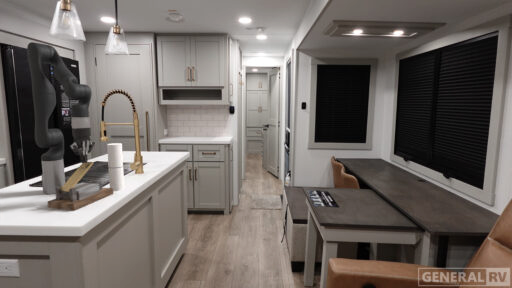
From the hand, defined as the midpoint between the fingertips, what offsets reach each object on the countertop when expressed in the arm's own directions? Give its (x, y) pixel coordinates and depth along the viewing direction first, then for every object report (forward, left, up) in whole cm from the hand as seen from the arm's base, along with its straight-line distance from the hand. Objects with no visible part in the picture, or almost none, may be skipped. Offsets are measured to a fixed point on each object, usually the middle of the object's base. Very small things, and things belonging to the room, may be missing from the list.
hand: (84, 162), depth 135 cm
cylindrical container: (+3, +18, -18) cm, 26 cm away
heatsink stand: (0, -2, -18) cm, 18 cm away
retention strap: (0, -4, -6) cm, 7 cm away
